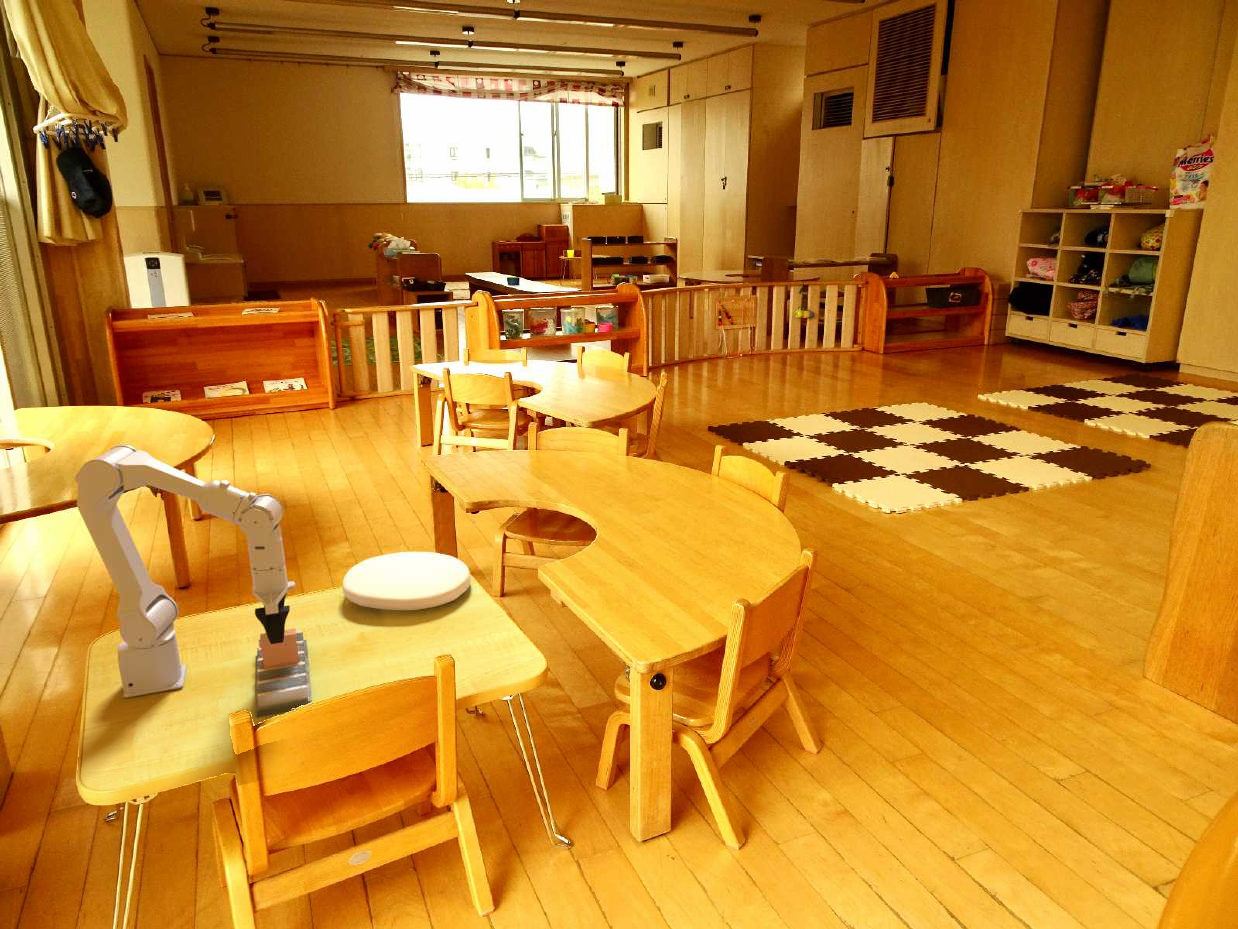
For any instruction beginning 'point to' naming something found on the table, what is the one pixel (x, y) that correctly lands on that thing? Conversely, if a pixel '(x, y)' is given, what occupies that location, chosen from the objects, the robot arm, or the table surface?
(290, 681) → the rack
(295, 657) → the tile
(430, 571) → the white round disc
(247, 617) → the table surface
